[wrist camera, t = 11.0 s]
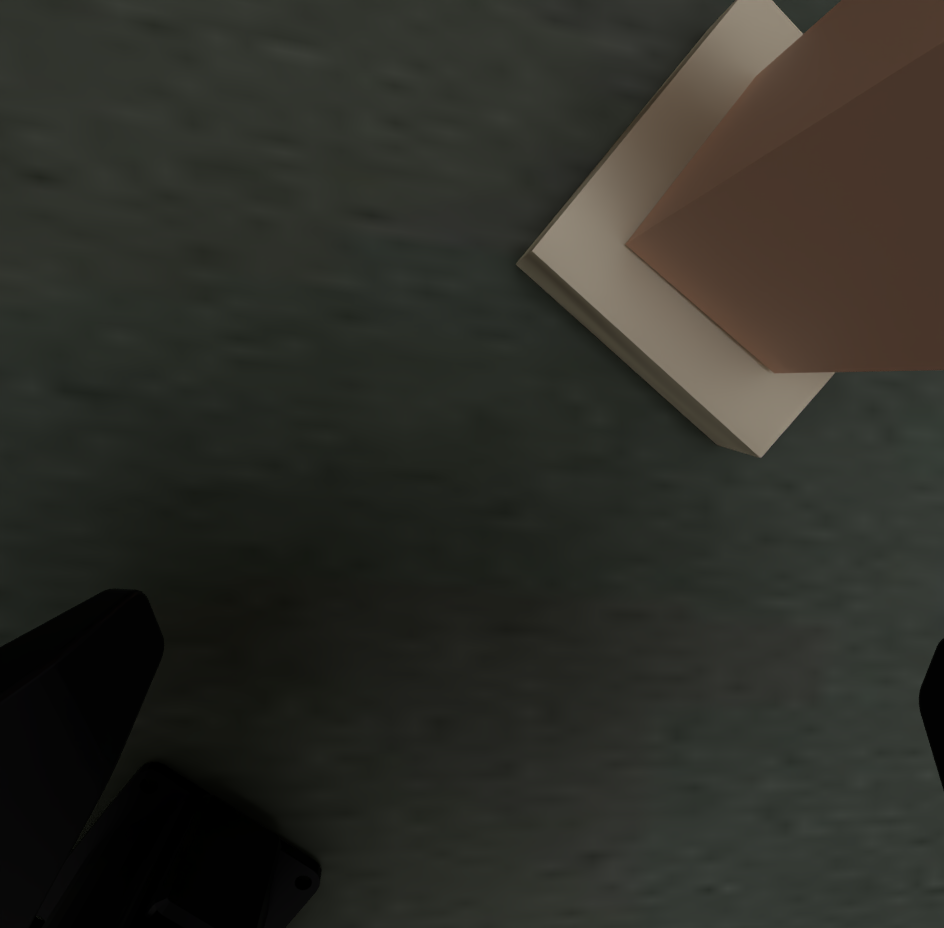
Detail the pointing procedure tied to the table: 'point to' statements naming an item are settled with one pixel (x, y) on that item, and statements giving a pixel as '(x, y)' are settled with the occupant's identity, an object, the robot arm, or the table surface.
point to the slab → (641, 287)
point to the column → (822, 200)
